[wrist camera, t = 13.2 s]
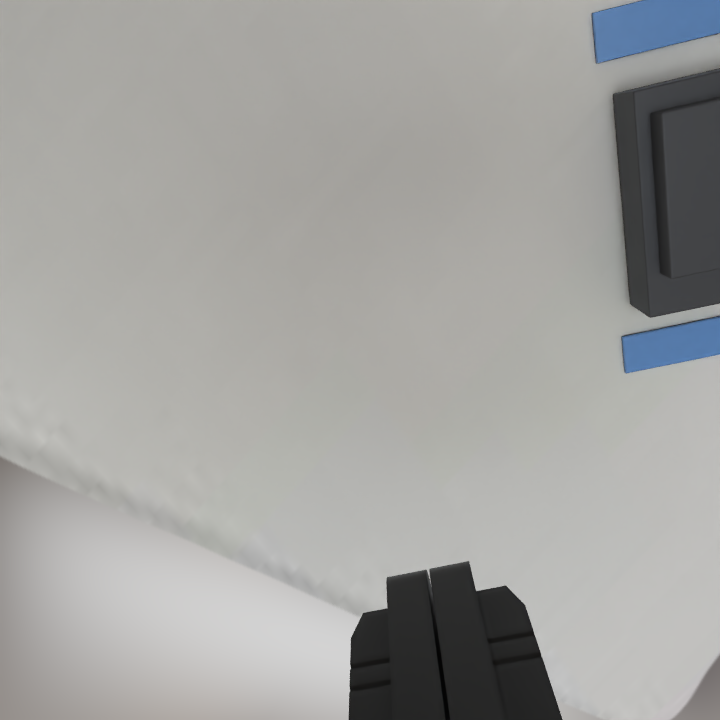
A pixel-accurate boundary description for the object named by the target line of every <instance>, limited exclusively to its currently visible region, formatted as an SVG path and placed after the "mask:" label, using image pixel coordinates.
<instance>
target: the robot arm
mask: <svg viewBox="0 0 720 720" xmlns="http://www.w3.org/2000/svg"><path fill="white" fill-rule="evenodd" d="M430 579H431V583H430ZM430 579H429V576H428V572H427V570H422V571H417V572H412V573H407V574H402V575H397V576H392V577H387V606H388V609H382V610H377V611H372V612H367V613H363V615H362V617H361V619H360V621H359V623H358V625H357V627H356V629H355V631H354V633H353V635H352V637H351V660H350V665H351V670H350V694H349V697H350V698H349V720H562V717H561V714H560V711H559V708H558V705H557V702H556V699H555V696H554V692H553V689H552V686H551V683H550V680H549V677H548V674H547V671H546V668H545V665H544V662H543V659H542V657H541V653H540V650H539V647H538V644H537V640H536V637H535V635H534V632H533V628H532V625H531V622H530V619H529V616H528V613H527V610H526V607H525V605H524V604H523V603H522V602H521V601H520V600H519V599H518V598H517V597H516V596H515V595H514V594H513V593H512V591H511V590H510V589H509V588H508V587H507V586H502V587H496V588H491V589H486V590H481V591H476V589H475V585H474V581H473V577H472V572H471V568H470V564H469V561H467V562H462V563H457V564H452V565H447V566H442V567H437V568H432V569H430ZM431 586H432V587H431Z"/></svg>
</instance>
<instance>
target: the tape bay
mask: <svg viewBox="0 0 720 720" xmlns="http://www.w3.org/2000/svg"><path fill="white" fill-rule="evenodd" d="M592 22H593V33H594V44H595V54H596V63H600V62H604V61H608V60H612V59H616V58H620V57H624V56H628V55H632V54H637V53H641V52H645V51H649V50H653V49H657V48H661V47H665V46H669V45H673V44H677V43H681V42H685V41H689V40H693V39H697V38H702V37H706V36H710V35H714V34H718V33H720V0H642V1H638V2H634V3H630V4H626V5H622V6H619V7H615V8H611V9H607V10H603V11H599V12H595V13H592ZM622 347H623V358H624V369H625V373H630V372H635V371H640V370H645V369H650V368H655V367H660V366H665V365H670V364H675V363H680V362H685V361H690V360H695V359H699V358H704V357H709V356H714V355H719V354H720V316H719V317H714V318H709V319H704V320H700V321H695V322H690V323H685V324H680V325H675V326H671V327H666V328H661V329H656V330H651V331H646V332H642V333H637V334H632V335H627V336H622Z"/></svg>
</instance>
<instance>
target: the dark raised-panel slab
mask: <svg viewBox="0 0 720 720" xmlns="http://www.w3.org/2000/svg"><path fill="white" fill-rule="evenodd" d="M613 100H614V112H615V124H616V136H617V148H618V160H619V172H620V184H621V196H622V208H623V220H624V232H625V244H626V256H627V268H628V280H629V292H630V304H631V305H632V306H634V307H635V308H637V309H638V310H640V311H641V312H643V313H644V314H645V315H647V316H648V317H650V318H651V317H656V316H661V315H666V314H671V313H675V312H680V311H685V310H690V309H695V308H700V307H704V306H709V305H714V304H719V303H720V68H719V69H715V70H711V71H706V72H702V73H698V74H694V75H690V76H685V77H681V78H677V79H673V80H669V81H664V82H660V83H656V84H652V85H648V86H644V87H639V88H635V89H631V90H627V91H623V92H618V93H615V94H613Z"/></svg>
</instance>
